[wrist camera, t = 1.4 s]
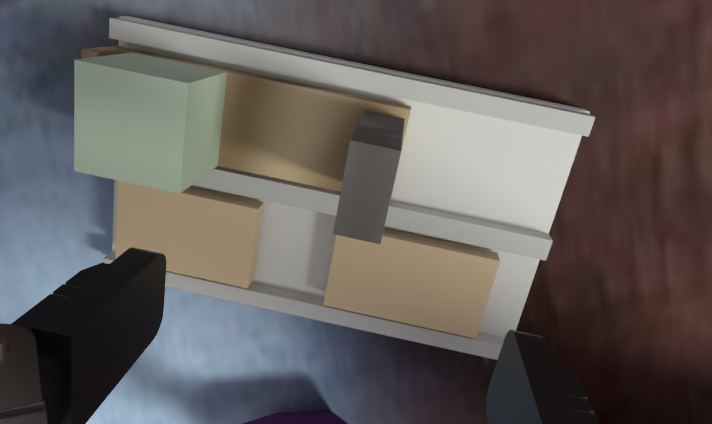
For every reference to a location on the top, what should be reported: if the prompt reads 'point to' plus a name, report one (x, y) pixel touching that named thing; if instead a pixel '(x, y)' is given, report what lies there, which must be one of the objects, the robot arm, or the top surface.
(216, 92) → the block
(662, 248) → the top surface
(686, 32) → the top surface
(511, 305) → the lane board
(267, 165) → the tan slider with post
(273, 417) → the perfume bottle
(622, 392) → the top surface
